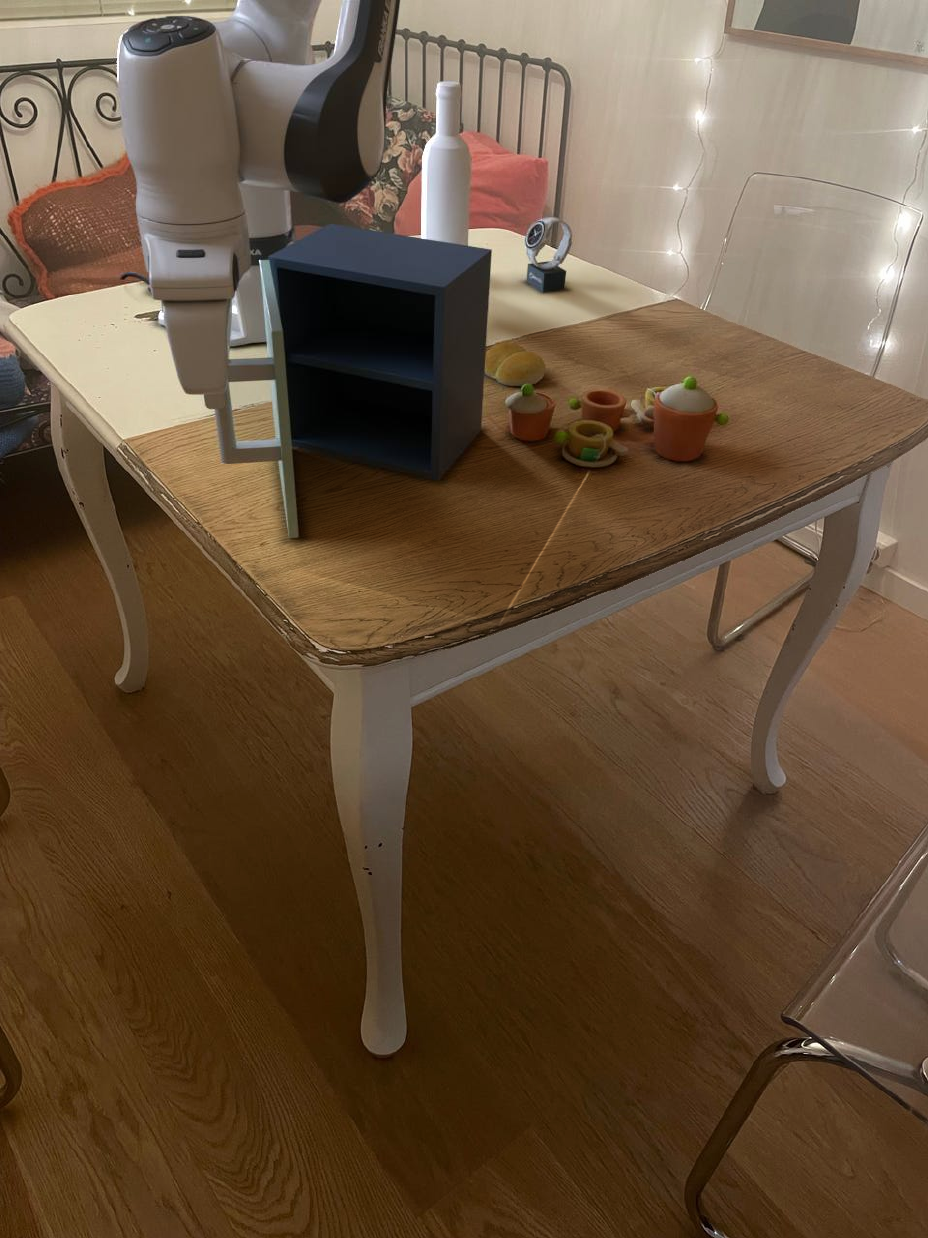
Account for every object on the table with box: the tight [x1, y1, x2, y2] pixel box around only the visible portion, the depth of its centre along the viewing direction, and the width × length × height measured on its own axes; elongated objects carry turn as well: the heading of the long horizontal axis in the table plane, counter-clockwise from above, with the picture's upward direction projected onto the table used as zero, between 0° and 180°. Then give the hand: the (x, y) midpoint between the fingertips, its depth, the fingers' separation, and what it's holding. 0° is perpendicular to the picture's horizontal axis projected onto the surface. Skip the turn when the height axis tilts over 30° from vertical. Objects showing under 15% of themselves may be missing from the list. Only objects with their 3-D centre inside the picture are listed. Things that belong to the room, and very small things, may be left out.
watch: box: [524, 216, 573, 293], centre depth 158 cm, size 6×8×11 cm
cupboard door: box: [213, 260, 300, 539], centre depth 96 cm, size 7×20×22 cm, turn 13°
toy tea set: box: [504, 376, 730, 468], centre depth 113 cm, size 26×16×10 cm, turn 104°
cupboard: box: [268, 223, 493, 481], centre depth 108 cm, size 14×20×22 cm
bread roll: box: [484, 341, 546, 387], centre depth 130 cm, size 8×9×4 cm
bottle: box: [420, 80, 472, 246], centre depth 151 cm, size 8×8×30 cm
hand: (216, 398), depth 88 cm, fingers closed on cupboard door, 2 cm apart
